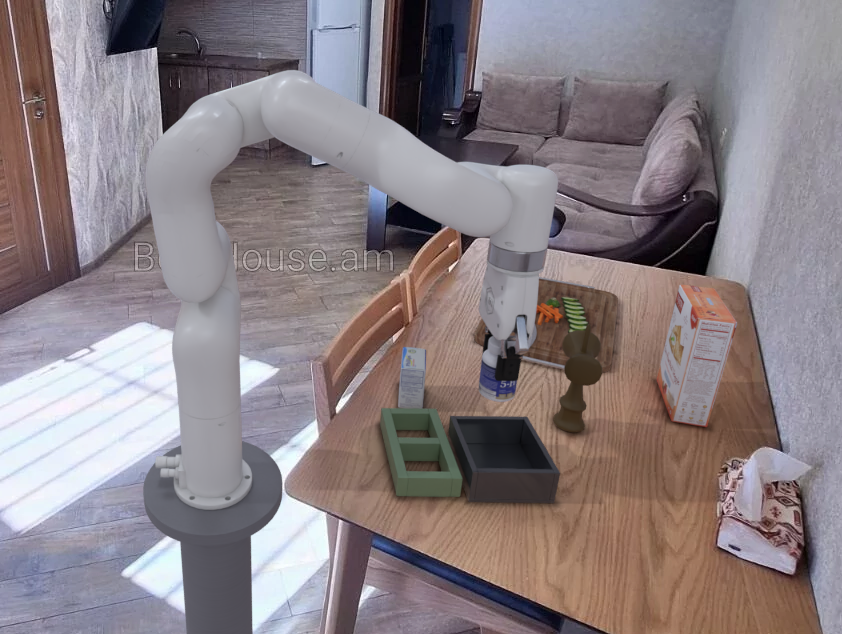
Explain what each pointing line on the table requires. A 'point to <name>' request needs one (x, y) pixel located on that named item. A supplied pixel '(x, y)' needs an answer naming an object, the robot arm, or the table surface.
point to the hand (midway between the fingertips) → (499, 367)
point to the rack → (419, 453)
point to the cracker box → (695, 354)
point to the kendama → (578, 377)
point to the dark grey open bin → (502, 460)
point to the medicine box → (412, 378)
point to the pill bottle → (487, 381)
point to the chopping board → (567, 321)
